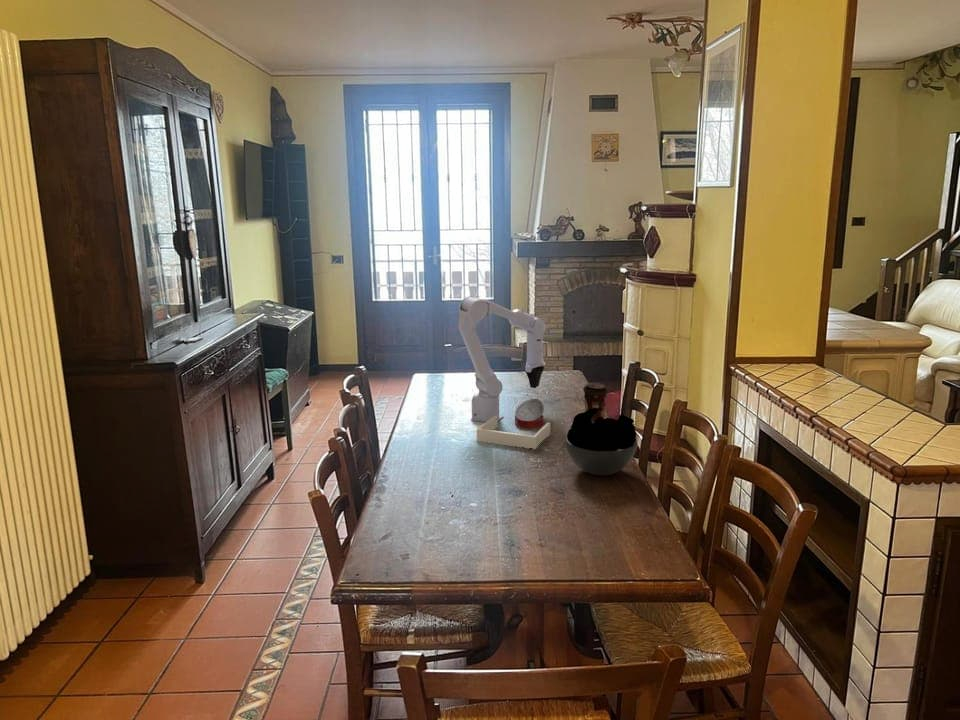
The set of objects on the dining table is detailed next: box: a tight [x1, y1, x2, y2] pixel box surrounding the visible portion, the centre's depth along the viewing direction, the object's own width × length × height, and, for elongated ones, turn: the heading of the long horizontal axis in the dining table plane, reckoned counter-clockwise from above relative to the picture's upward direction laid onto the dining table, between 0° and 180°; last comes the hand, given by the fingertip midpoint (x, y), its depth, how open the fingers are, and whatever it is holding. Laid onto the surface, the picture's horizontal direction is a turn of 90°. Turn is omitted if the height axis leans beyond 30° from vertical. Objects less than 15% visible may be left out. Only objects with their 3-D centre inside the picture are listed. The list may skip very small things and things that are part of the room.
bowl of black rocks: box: [564, 408, 638, 476], centre depth 190 cm, size 20×20×19 cm
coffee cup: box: [582, 382, 609, 423], centre depth 235 cm, size 9×8×13 cm
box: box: [476, 416, 551, 450], centre depth 220 cm, size 20×15×4 cm
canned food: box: [514, 398, 545, 430], centre depth 233 cm, size 11×10×10 cm
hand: (534, 386), depth 245 cm, fingers closed
